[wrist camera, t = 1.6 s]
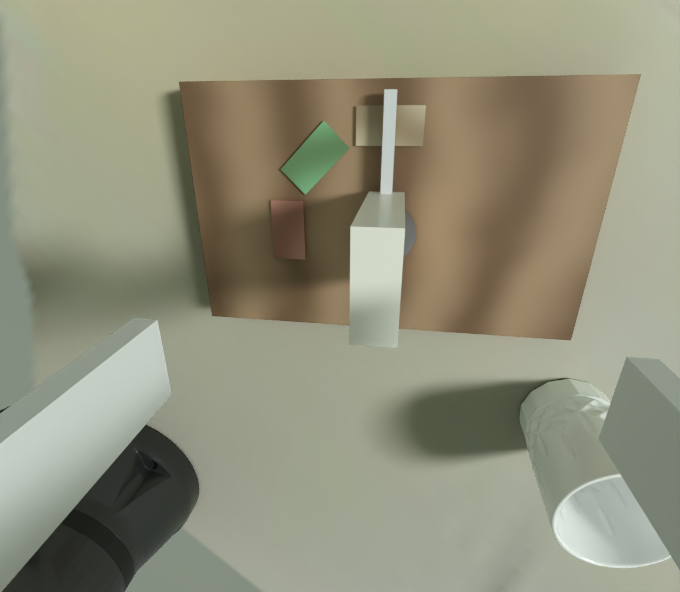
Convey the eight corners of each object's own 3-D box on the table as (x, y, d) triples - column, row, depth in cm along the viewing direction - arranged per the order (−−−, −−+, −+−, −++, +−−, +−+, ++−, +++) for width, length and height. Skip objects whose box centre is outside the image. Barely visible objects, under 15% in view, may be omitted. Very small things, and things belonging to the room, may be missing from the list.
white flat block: (366, 274, 27) (349, 344, 18) (371, 90, 22) (352, 68, 14) (399, 275, 27) (397, 347, 18) (411, 90, 22) (415, 67, 14)
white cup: (490, 416, 33) (523, 524, 24) (563, 353, 30) (631, 451, 21) (561, 464, 34) (618, 585, 25) (639, 408, 31) (736, 523, 22)
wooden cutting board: (225, 302, 33) (210, 317, 30) (198, 85, 27) (176, 81, 24) (557, 323, 29) (572, 342, 27) (617, 79, 23) (643, 73, 21)
